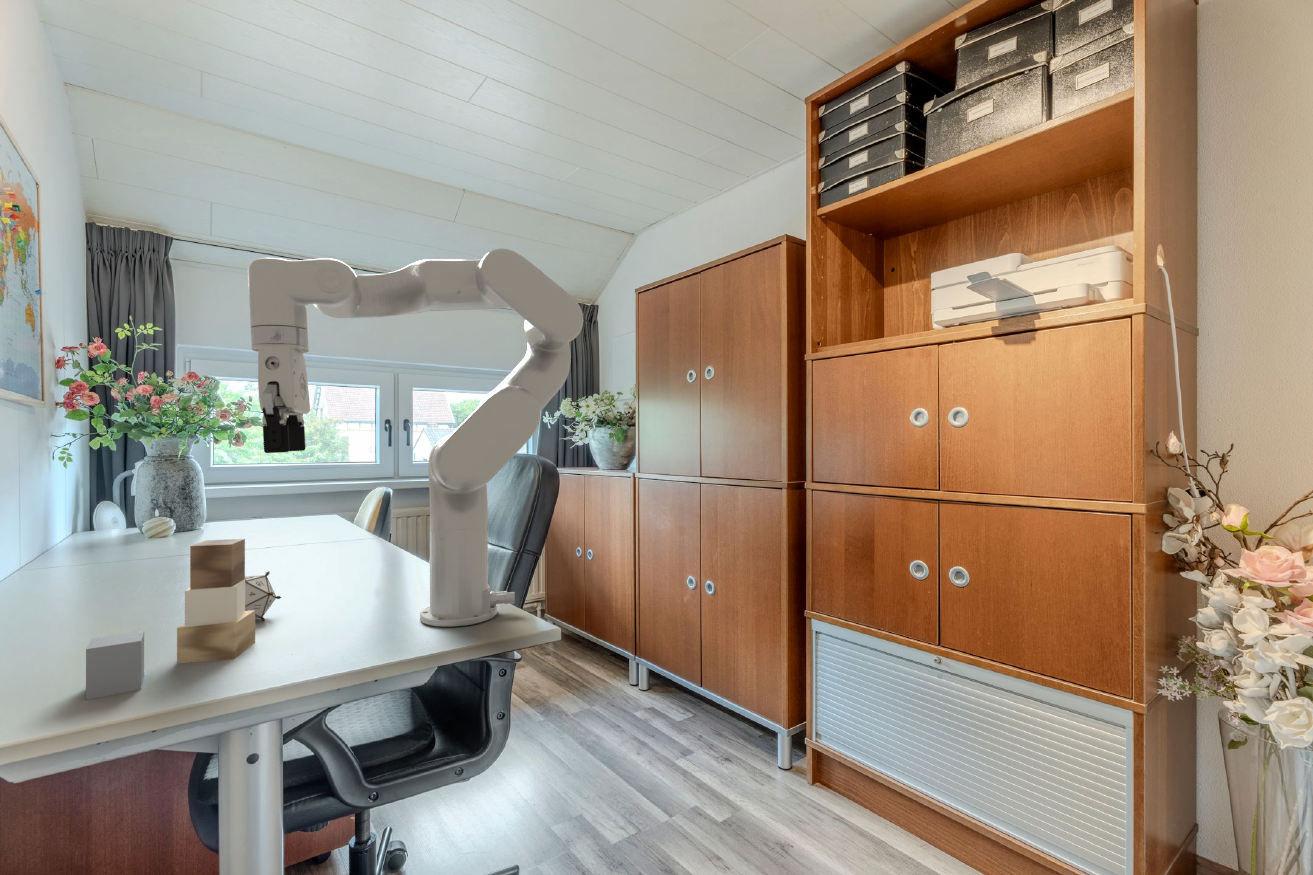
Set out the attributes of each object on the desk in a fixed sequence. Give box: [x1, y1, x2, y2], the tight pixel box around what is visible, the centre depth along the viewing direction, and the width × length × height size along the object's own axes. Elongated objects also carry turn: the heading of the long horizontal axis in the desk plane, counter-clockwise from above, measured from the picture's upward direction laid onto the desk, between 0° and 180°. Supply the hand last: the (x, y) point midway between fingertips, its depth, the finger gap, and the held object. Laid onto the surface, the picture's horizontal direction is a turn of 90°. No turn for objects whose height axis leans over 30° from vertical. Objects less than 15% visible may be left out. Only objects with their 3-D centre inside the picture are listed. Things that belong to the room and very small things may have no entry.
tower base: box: [176, 610, 256, 664], centre depth 88 cm, size 7×7×5 cm
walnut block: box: [189, 538, 246, 589], centre depth 88 cm, size 5×5×6 cm
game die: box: [245, 570, 282, 623], centre depth 103 cm, size 9×8×10 cm
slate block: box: [85, 630, 145, 701], centre depth 76 cm, size 5×5×6 cm
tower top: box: [184, 579, 245, 627], centre depth 88 cm, size 6×6×5 cm
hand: (286, 451), depth 95 cm, fingers open, 9 cm apart
